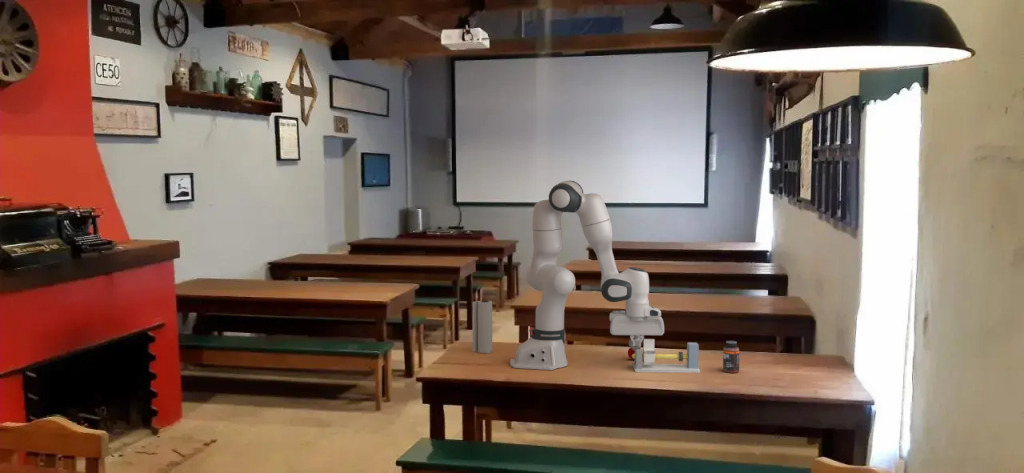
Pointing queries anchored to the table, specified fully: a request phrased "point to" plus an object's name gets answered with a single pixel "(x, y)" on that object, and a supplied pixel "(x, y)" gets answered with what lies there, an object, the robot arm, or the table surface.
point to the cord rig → (670, 368)
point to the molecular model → (632, 349)
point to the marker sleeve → (649, 352)
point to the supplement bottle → (731, 357)
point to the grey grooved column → (482, 326)
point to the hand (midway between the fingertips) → (636, 346)
